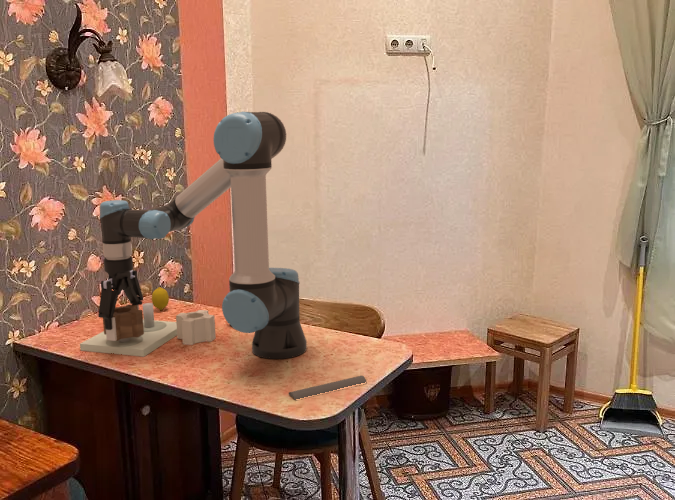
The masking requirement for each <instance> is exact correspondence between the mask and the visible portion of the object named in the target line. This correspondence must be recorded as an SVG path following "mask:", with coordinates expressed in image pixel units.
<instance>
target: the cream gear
mask: <svg viewBox="0 0 675 500" xmlns="http://www.w3.org/2000/svg"><path fill="white" fill-rule="evenodd" d="M175 322H176V324H177V336H176V337H177V339H179V340H182V345H189V346H193V345H195V344H197V343H203V342H212V341H214V340H215V339H216V336H217V335H216V324H215V323H216V319H215V315H213V314H210V313H209V310H208V309H207V310H206V309H205V310H204V309H198V310H196V311H190V312H180V313H178V314H177V315H175Z"/></svg>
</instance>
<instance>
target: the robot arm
mask: <svg viewBox="0 0 675 500" xmlns="http://www.w3.org/2000/svg"><path fill="white" fill-rule="evenodd" d="M213 132H214V133H213V138H212V139H213V147H214V150H215V152H216V154H217V155H218V156H219V159H218V161H216V162H215V163H214V164H213V165H211V166H210V167H209V168H208V169H207V170H206V171H205V172H203V173H202V174H201V175H200V176H199V177H197V179H195V180H194V181H193V182H192V183H191V184H190V185H188V186H187V187H186V188H184V190H182V191H181V192H180V193H179V194H178V195H176V197H174V198H173V199H172V200H171V201H170V202H169V203H167V204H164V205H160V206H156V207H151V208H147V209H134V208H133V209H131V208H130V206H129V205H130V204H129V202H128V201H127V200H125V199H124V200H122V199H113V200H105V201H102V202H101V203H100V205H99V221H100V228H101V231H100V232H101V242H102V253H103V257H104V259H103V268H104V272H105V273H106V274H108V276H107V279H106V280H101V281H100V288H101V289H100V296H99V297H100V298H99V307H98V313H97V314H98V315H97V317H98V318H100V319H101V318H102V319H103V318H104V321H105V329H106V338H107V340H111V341H116V340H117V335H116V323H115V317H113V314H114V310H115V307H117V306H116V305H117V302H118V298H119V296H120V295H121V294H122V291H123V293H124V295H126V298H127V300H128V302H129V303H130V305H138V310H140V306H143V300H144V296H143V293H142V290H141V286H140V283H139V277H138V272H137V270H133V269H134V263H133V262H134V261H133V257H132V255H133V248H132V247H133V246H132V238H137V239H138V238H139V239H147V240H148V239H149V240H162V239H165V238H166V236H167V235H168V234H169V233H171V232H175V231H179V230H184V229H185V228H187V227H189V226H191V225H192V224H193V222H194V220H195V218H196V216H198V215H199V214H200V213H201V212H203V211H204V210H205V209H206V208H208V206H210V205H211V204H212V203H213V202H214V201H216V200H217V199H219V197H221V196H222V195H223V194H224V193H226V192H227V191H228V190H229V189H230V197H231V214H232V215H231V216H232V236H233V238H232V239H233V256H234V257H233V259H234V261H233V262H234V272H232V273H231V275H230V276H229V278H228V282H229V283H228V284H229V287H228V288H229V292H227V294H226V295H225V297H224V298H223V300H222V304H221V310H222V314H223V317H224V319H225V321H226V322H227V323H228V325H229V326H230V325H231V326H230V327H232V328H233V329H234V330H236V331H237V332H239V333H243V334H251V333H254V334H253V337H252V341H251V349H252V350H251V351H252V353H253V355H255V356H257V357H259V358H263V359H271V360H283V359H291V358H294V357H297V356H298V357H299V356H300V355H302V354H304V353H305V352H306V351H307V349H308V348H307V347H308V346H307V345H308V344H307V343H308V342H307V339H306V338H307V337H306V336H305V333H304V331H303V327H302V324H301V322H300V320H301V319H300V317H301V316H300V315H301V314H300V281H299V273H298V272H297V270H295V269H293V268H286V267H284V268H283V267H270V263H269V262H270V261H269V260H270V259H269V232H268V230H269V229H268V208H267V207H268V204H267V203H268V201H267V179H266V177H267V174H268V173H269V172H270V171H271V169H272V168H273V167H272V165H273V164H272V159H274V158H275V157H276V156H278V155H279V154H280V153H281V151H283V149H284V148H285V145H286V141H287V131H286V126H284V122H282V120H281V119H280V118H279V117H278V116H277V115H275V114H273V113H272V112H268V111H267V112H266V111H258V112H257V111H238V112H233V113H230V114H227V115H226V116H224V117H223V118H222V119H221V120H220V121H219V122H218V123H217V125H216V127H215V130H214V131H213Z"/></svg>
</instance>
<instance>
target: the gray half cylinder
mask: <svg viewBox="0 0 675 500" xmlns="http://www.w3.org/2000/svg"><path fill="white" fill-rule="evenodd" d="M365 382H366V383H367V379H366V377H365V376H364V375H358V376H353V377H349V378H345V379H341V380H337V381H332V382H327V383H325V384H324V383H323V384H319V385H314V386H309V387H306V388H302V389H298V390H294V391H289V392H288V395H289V396H290V397H291V398H292V397H293V398H294V399H293V398H292V399H293V400H295V401H297V400H296V399H300V398H304V397H308V396H312V395H317V394H320V393H325V392H329V391H333V390H337V389H340V388H344V387H348V386H352V385H356V384H361V383H365ZM317 396H318V395H317Z"/></svg>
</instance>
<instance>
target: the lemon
mask: <svg viewBox="0 0 675 500" xmlns="http://www.w3.org/2000/svg"><path fill="white" fill-rule="evenodd" d="M169 301H170V296H169V293H168V291H167V290H166V289H165V288H163V287H160V286H159V287H157V288H156V289H154V291H152V294H151V303H153V307H154V308H156V309H158V310H159V311H163V310H164V309H165V308H166V307H167V306H168V305H169Z"/></svg>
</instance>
